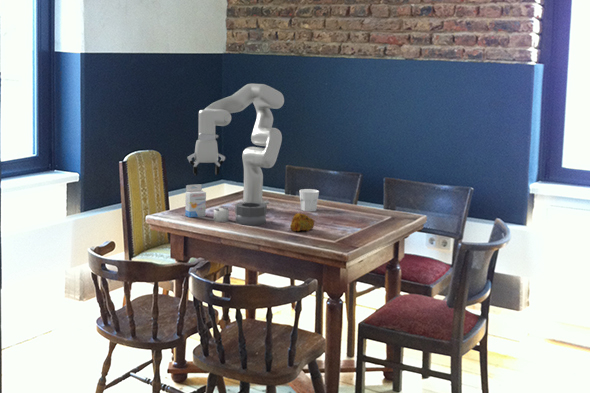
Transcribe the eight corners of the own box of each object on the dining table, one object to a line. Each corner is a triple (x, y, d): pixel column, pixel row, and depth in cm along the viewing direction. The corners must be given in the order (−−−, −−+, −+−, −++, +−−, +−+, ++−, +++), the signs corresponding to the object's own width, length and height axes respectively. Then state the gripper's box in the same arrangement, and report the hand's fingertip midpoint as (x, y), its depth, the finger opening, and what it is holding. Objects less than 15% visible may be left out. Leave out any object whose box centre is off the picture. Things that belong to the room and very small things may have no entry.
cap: (222, 217, 311) (222, 206, 310) (231, 220, 306) (231, 208, 305) (210, 219, 306) (210, 208, 305) (220, 222, 301) (220, 210, 300)
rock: (291, 237, 296) (300, 219, 301) (307, 242, 293) (316, 224, 298) (286, 224, 287) (296, 206, 292) (303, 230, 284) (312, 211, 288)
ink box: (189, 217, 308) (189, 186, 306) (185, 215, 312) (185, 185, 310) (206, 216, 313) (206, 185, 310) (201, 214, 317) (201, 184, 314)
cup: (307, 212, 330) (308, 193, 328) (294, 209, 338) (295, 190, 336) (322, 210, 336) (323, 191, 334) (309, 207, 344) (310, 188, 342)
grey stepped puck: (251, 217, 314) (252, 200, 313) (272, 222, 305) (272, 205, 303) (229, 221, 304) (229, 204, 303) (249, 226, 295) (250, 209, 293)
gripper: (223, 136, 303) (222, 173, 306) (186, 136, 297) (185, 174, 300) (227, 138, 296) (226, 176, 299) (189, 138, 290) (189, 176, 293)
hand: (206, 175), depth 300 cm, fingers open, 9 cm apart
